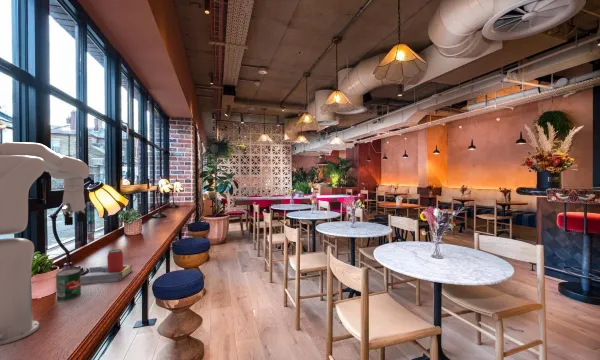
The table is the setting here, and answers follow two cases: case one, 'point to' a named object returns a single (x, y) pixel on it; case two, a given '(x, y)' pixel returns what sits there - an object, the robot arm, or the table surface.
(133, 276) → the table surface
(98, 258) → the table surface
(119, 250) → the beer can
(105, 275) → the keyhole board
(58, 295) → the canned tomato
